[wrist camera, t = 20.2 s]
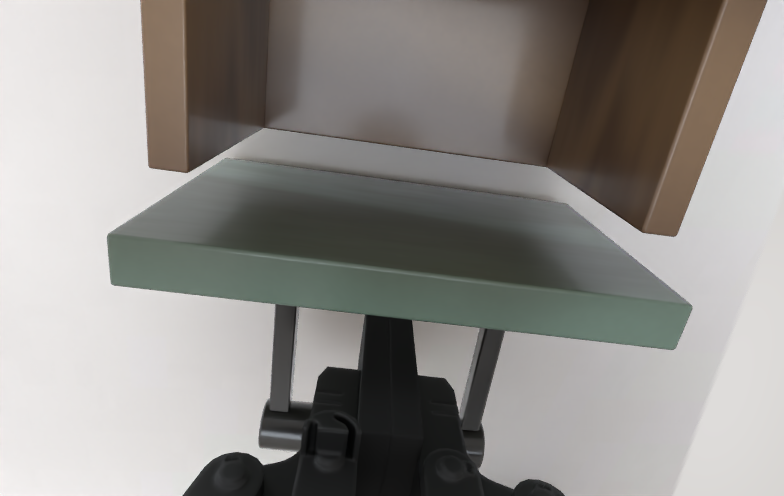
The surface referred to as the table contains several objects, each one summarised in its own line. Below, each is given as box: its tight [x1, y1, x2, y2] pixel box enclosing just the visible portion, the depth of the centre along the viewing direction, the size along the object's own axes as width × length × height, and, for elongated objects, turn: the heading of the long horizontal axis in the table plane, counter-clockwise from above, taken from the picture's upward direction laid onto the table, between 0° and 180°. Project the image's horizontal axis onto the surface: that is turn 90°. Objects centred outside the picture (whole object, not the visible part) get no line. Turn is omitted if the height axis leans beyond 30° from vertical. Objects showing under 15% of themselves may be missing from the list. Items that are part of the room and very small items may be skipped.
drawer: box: [107, 0, 767, 469], centre depth 13 cm, size 21×13×8 cm, turn 172°
